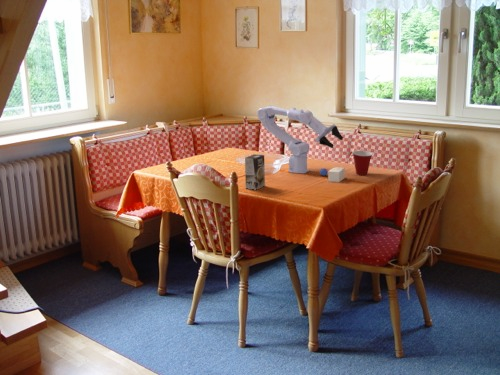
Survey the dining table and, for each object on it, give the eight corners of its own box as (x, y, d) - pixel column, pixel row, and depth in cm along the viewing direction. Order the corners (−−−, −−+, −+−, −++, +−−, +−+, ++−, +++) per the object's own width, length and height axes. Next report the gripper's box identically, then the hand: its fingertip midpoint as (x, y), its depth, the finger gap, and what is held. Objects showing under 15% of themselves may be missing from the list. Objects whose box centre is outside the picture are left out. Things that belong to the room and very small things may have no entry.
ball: (318, 176, 330) (318, 168, 329) (321, 174, 333) (321, 167, 332) (325, 176, 328) (325, 169, 327) (328, 175, 332) (328, 167, 330)
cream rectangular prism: (328, 181, 320) (328, 171, 318) (334, 176, 328) (334, 166, 326) (338, 182, 317) (338, 172, 316) (344, 177, 325) (344, 167, 324)
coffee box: (256, 190, 308) (255, 158, 304) (245, 188, 311) (244, 157, 307) (265, 185, 315) (264, 154, 311) (254, 184, 319) (253, 153, 314)
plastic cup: (372, 177, 325) (372, 154, 322) (351, 176, 327) (351, 154, 324) (372, 171, 335) (373, 150, 332) (352, 171, 337) (352, 149, 334)
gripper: (310, 129, 321) (330, 145, 317) (328, 115, 327) (348, 130, 323) (308, 137, 327) (327, 153, 323) (326, 123, 333) (345, 139, 329)
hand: (337, 142), depth 323 cm, fingers open, 7 cm apart
